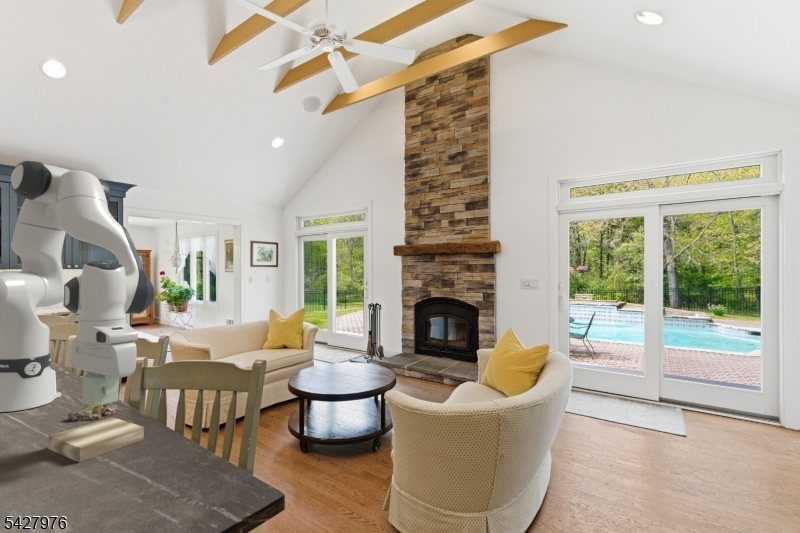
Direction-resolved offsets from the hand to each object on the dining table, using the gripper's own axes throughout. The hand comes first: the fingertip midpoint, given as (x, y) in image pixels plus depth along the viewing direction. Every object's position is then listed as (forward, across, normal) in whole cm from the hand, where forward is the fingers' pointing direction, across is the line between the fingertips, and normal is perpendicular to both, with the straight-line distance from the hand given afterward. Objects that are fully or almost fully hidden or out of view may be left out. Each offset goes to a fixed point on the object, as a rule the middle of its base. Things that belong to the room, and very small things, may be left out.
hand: (100, 391), depth 91 cm
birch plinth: (+12, 0, 0) cm, 12 cm away
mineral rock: (+12, -21, +9) cm, 26 cm away
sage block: (+2, 0, 0) cm, 2 cm away
